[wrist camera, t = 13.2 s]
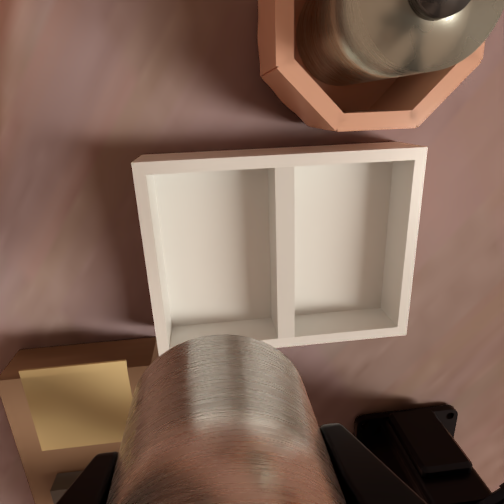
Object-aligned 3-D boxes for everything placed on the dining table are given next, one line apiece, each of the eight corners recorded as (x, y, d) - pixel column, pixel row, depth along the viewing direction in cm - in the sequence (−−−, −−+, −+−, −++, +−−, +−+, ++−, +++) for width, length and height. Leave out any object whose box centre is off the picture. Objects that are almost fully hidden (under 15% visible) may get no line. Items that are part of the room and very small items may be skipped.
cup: (410, 121, 19) (472, 125, 14) (259, 128, 18) (277, 134, 14) (428, -64, 16) (510, -127, 12) (254, -64, 15) (272, -131, 11)
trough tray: (382, 307, 22) (406, 334, 19) (164, 328, 21) (159, 359, 18) (396, 141, 19) (427, 146, 16) (141, 154, 18) (131, 162, 15)
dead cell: (386, 83, 17) (511, 65, 10) (297, 88, 17) (364, 74, 10) (391, -25, 16) (541, -129, 9) (295, -21, 16) (371, -127, 9)
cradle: (183, 524, 26) (180, 583, 23) (73, 539, 25) (54, 602, 22) (155, 330, 21) (146, 371, 18) (17, 343, 20) (-19, 388, 17)
